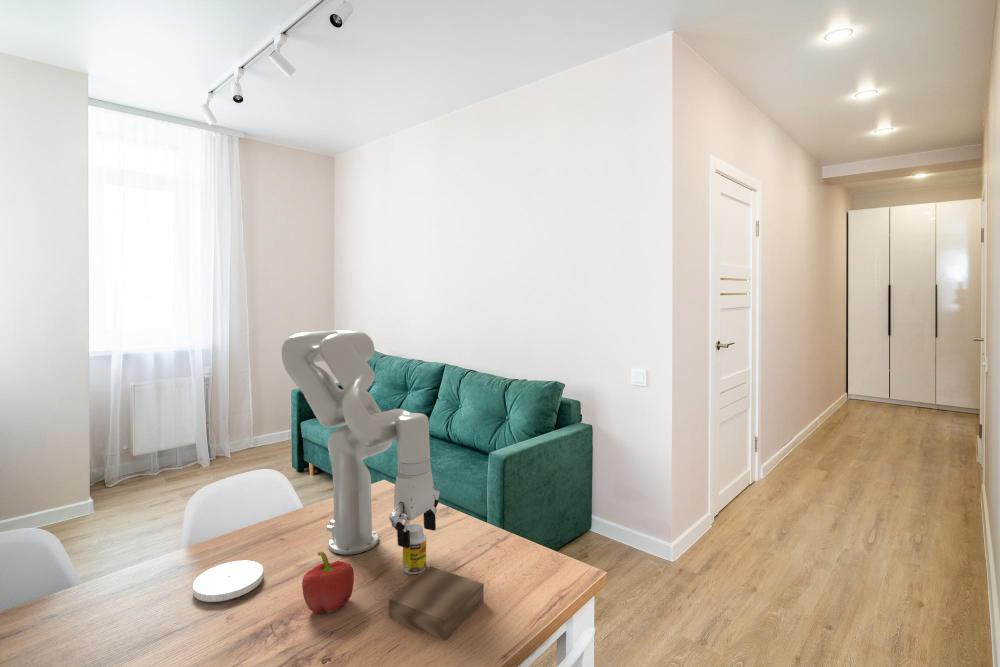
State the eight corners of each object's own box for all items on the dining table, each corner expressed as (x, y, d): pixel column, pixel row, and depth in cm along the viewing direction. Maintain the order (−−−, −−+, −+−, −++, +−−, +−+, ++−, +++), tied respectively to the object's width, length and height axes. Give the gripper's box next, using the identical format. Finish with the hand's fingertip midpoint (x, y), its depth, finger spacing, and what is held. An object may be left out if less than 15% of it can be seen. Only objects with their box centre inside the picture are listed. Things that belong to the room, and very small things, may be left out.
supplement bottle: (408, 578, 117) (408, 535, 117) (399, 567, 122) (398, 526, 121) (430, 570, 120) (430, 529, 120) (420, 560, 125) (420, 520, 124)
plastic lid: (231, 566, 123) (231, 556, 123) (277, 576, 118) (277, 566, 118) (177, 598, 110) (177, 587, 110) (227, 612, 105) (226, 600, 105)
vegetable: (295, 601, 108) (294, 556, 108) (343, 584, 115) (342, 542, 114) (311, 628, 100) (310, 579, 99) (362, 608, 106) (361, 562, 105)
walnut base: (389, 617, 103) (388, 598, 103) (430, 583, 115) (430, 566, 115) (445, 640, 96) (445, 620, 96) (483, 601, 108) (483, 583, 108)
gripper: (424, 454, 128) (427, 520, 129) (376, 475, 113) (380, 550, 114) (448, 458, 125) (451, 526, 126) (402, 480, 110) (406, 557, 111)
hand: (417, 537), depth 120 cm, fingers open, 9 cm apart
